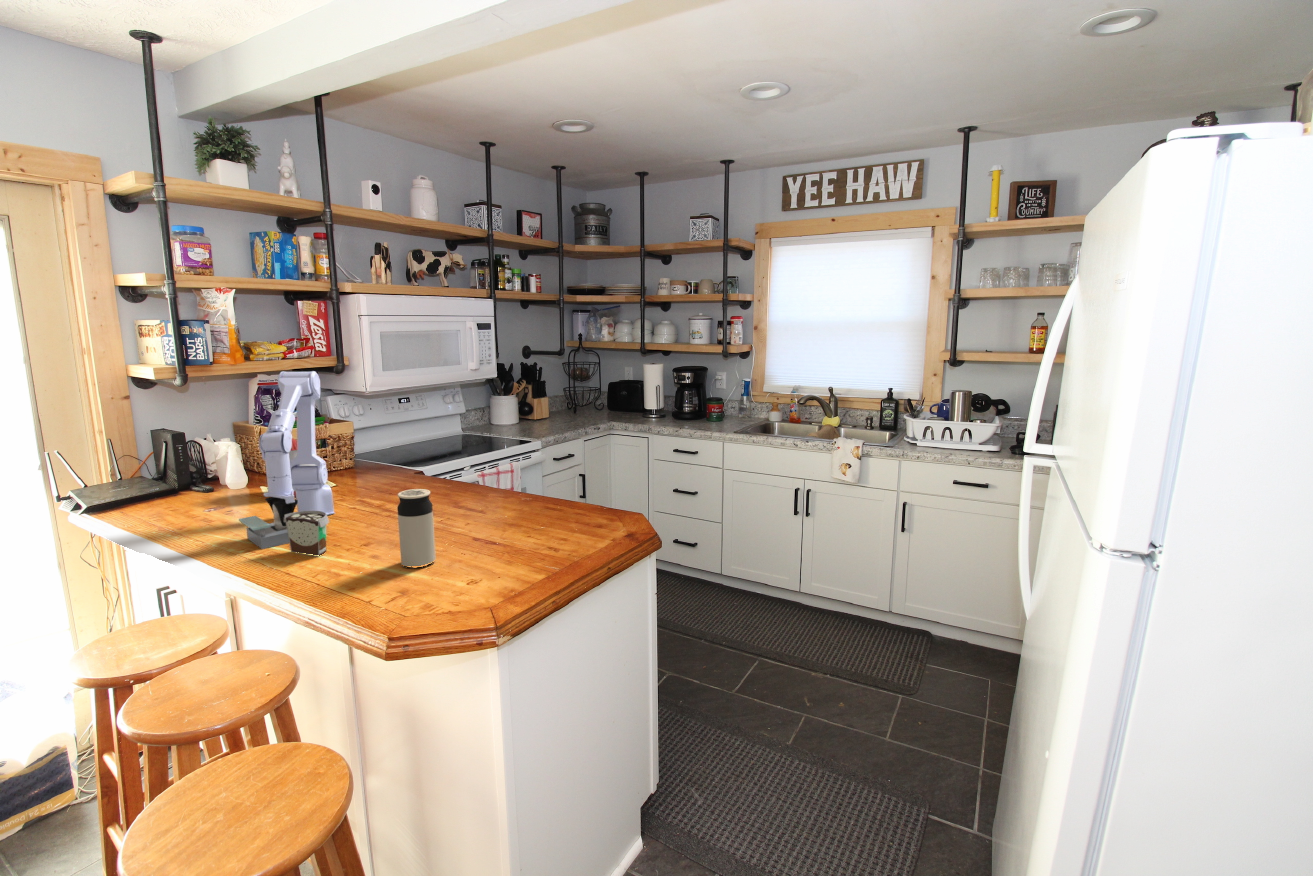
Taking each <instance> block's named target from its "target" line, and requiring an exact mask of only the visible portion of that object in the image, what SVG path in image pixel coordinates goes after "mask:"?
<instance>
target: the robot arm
mask: <svg viewBox="0 0 1313 876" xmlns="http://www.w3.org/2000/svg"><path fill="white" fill-rule="evenodd" d="M277 387H278V389H279V392H280V393H281V394H280V399H279V405H278V409H277V410H275V411H273V412H272V413H271V417H270V419H269V423H268V426H267V428H266V431H265V432H264V433H262V434H261V435H260V436H259V439H258V447H259V449H258V450H260V453H261V458H262V460H263V461H264V462H265V464H264V465H265V473H266V475H265V476H266V480H267V482H266V483H267V492H264V493H263V497H265V501H266V503H267V504H268V505H269V507H270V508H271V510H272V512H273V506H272V505H273V504H274V506H275V507H276V509H277V511H278V513H279V517H280V520H281V524H282V526H286V522H284V517H285V515H286V514H289V513H294V512H295V509H297V512H300V511H322V512H325V513H326V515H327V516H330V515H334V514H336V512H335V507H334V498H333V497H334V496H333V491H332V487H331V486H330V485H329V484H328V483H327V482H328V478H329V477H328V475H329V474H328V469H327V462H326V461H325V460H324V459H323V458H322V457H320V456H319V455H316V453H317V452H316V453H315V443H316V418H315V416H316V413H315V408H316V406H315V405H316V401H318V400H319V399H321V379H320V376H319V374H318V373H317V371H314V370H312V371H283V370H282V371H281V372H280V373H279V374H278V376H277ZM295 409H296V416H295V414H294V412H295ZM295 421H296V441H297V457H295V458H294V459H293V460H291V461H290V459H289V452H290V450H291V447H292V438H293V435H292V433H293V432H292V431H293V428H294V425H295ZM301 464H315V465H317V466H299V465H301ZM292 487H293V489H295V490H296V497H294V495H293V494H294V490H293V489H292Z"/></svg>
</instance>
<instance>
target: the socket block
mask: <svg viewBox="0 0 1313 876" xmlns="http://www.w3.org/2000/svg"><path fill="white" fill-rule="evenodd" d="M238 521H239V522H240V523H242V524H243V525H244V526H246V527H247V528H246V536H247V538H246V539H247V540H248V541H250V542H251V543H253V544H254V545H256V546H257V547H258V546H259V547H258V548H259V549H261V550H265V549H269V547H270V548H274V547H277V546H282V545H285V544H286V545H287V544H290V543H289V538H288V533H287V529H285V530H280V531H275V524H274V522H271V523H268V522H266V521H265V520H263V519H262V518H260V517H259V516H257V515H252V516H248V517H241V518H239V519H238Z"/></svg>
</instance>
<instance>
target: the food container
mask: <svg viewBox="0 0 1313 876" xmlns="http://www.w3.org/2000/svg"><path fill="white" fill-rule="evenodd" d="M328 516H329V515H326V513H325V512H322V511H300V512H298V511H296V512H295V511H294V513H289V514H286V515H285V517H284V522H286V527H287V533H288V538H289V543H288V544H289V548H290V553H292V552H297V553H296V554H298V552H299V553H306V554H313V555H319V556H320V555H322V554H324V553H325V552H326V553H327V525H328V524H329V523H330V520H329V517H328ZM326 553H325V554H326ZM325 554H324V555H325ZM322 556H323V555H322ZM320 557H321V556H320Z"/></svg>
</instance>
